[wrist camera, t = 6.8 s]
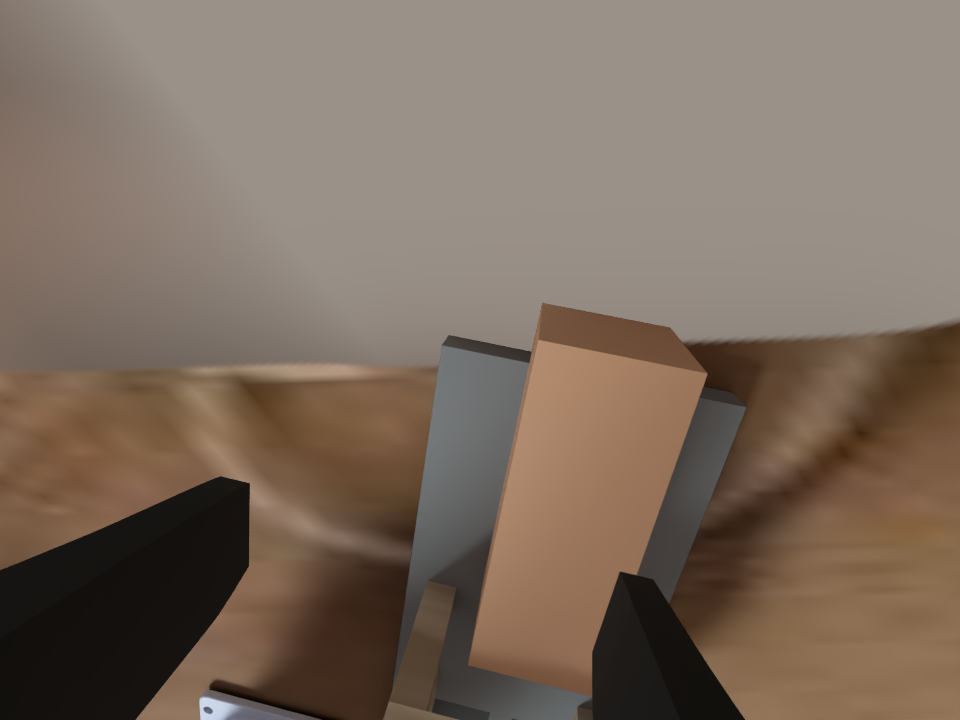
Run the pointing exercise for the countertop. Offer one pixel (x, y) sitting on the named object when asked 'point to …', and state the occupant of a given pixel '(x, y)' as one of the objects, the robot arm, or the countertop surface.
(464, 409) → the board
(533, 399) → the terracotta block
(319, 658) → the countertop surface
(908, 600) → the countertop surface
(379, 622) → the countertop surface
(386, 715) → the wooden tunnel
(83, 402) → the countertop surface
